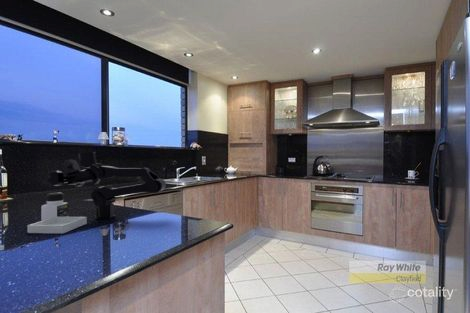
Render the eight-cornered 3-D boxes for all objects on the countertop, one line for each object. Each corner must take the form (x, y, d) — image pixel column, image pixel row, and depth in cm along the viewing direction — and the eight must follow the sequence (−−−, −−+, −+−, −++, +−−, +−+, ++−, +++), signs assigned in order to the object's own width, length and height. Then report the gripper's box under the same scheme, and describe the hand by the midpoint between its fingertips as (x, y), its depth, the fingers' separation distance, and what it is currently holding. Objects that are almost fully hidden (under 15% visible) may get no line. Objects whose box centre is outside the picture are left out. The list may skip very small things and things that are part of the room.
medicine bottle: (57, 222, 110) (57, 194, 110) (40, 222, 110) (40, 194, 110) (68, 218, 117) (68, 191, 117) (53, 218, 117) (52, 191, 117)
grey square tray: (86, 223, 107) (86, 216, 107) (63, 233, 94) (63, 225, 94) (55, 223, 108) (55, 216, 108) (27, 232, 95) (27, 225, 95)
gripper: (94, 161, 128) (63, 166, 129) (68, 156, 110) (32, 162, 110) (96, 183, 126) (65, 189, 127) (70, 182, 108) (34, 188, 108)
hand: (50, 182), depth 118 cm, fingers open, 9 cm apart
